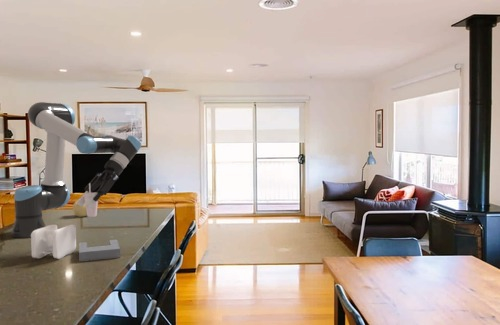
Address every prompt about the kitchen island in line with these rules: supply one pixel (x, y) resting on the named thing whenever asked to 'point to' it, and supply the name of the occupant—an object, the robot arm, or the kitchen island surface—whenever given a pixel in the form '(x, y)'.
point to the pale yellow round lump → (79, 209)
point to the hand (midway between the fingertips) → (83, 205)
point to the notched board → (99, 251)
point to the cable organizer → (53, 241)
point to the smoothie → (90, 211)
